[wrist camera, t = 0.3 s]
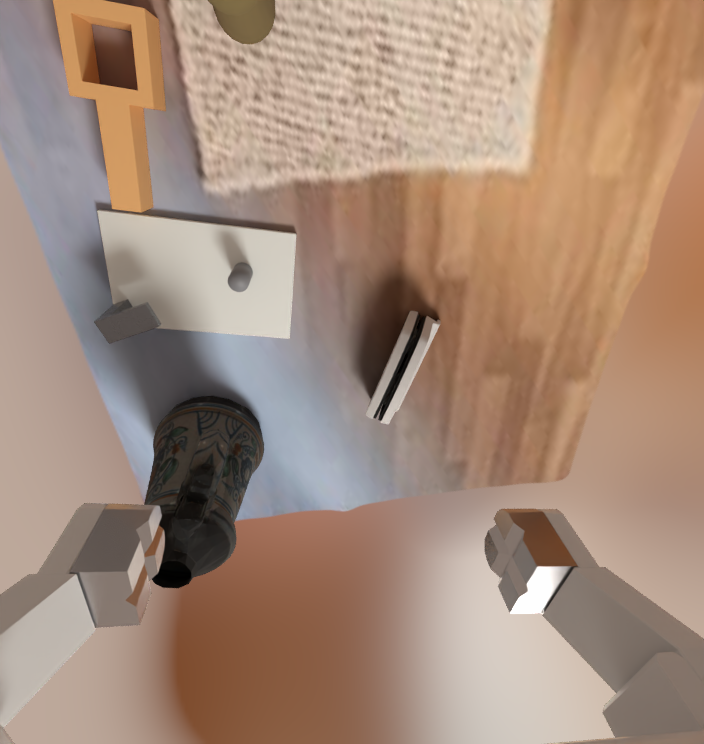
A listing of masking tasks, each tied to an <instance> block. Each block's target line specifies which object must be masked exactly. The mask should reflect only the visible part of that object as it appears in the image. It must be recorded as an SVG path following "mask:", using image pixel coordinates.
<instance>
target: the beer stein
mask: <svg viewBox="0 0 704 744" xmlns="http://www.w3.org/2000/svg"><path fill="white" fill-rule="evenodd" d="M153 448H154V461H153V466H152V472H151V476H150V481H149V485H148V490H147V494H146V499H145V504H144V505H157V506H160V509H161V514H162V517H161V520H160V522H159V526H160V527H162V528H163V529H164V534H165V547H164V553H163V558H162V562H161V565H160V568H159V571H158V574H156V575H155V576H154V577H153V578H152V580H153V582H154V583H155V584H157V585H159V586H161V587H164V588H180V587H182V586H184V585H186V584H189V582H190V581H191V580H192V578H193V577H196V576H200V575H203V574H206V573H208V572H210V571H212V570H214V569H216V568H217V567H219V566H220V565H222V564H223V563H224V562H225V561H226V560H227V559H228V558H229V557H230V556H231V554H232V553H233V551H234V548H235V545H236V530H235V525H234V522H235V519H236V517H237V514H238V512H239V509H240V506H241V503H242V501H243V497H244V495H245V492H246V489H247V486H248V483H249V480H250V478H251V475H252V473H253V472H254V471H255V470H256V469H257V468H258V466H259V464H260V463H261V460H262V457H263V453H264V442H263V437H262V433H261V429H260V425H259V422H258V421H257V419H256V418H255V417H254V416H253V414H252V413H251V412H250V411H249V409H247V408H245V407H243V406H241V405H239V404H237V403H235V402H234V401H232V400H230V399H225V398H220V397H215V396H208V397H196V398H192V399H189V400H187V401H185V402H183V403H181V404H179V405H177V406H176V407H175V408H174V409H173V410H172V411H171V412H170V413H169V414H168V415H167V416H166V417H165V418H164V419H163V420H162V421H161V423H160V424H159V426H158V428H157V430H156V433H155V436H154V441H153Z"/></svg>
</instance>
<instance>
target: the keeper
mask: <svg viewBox="0 0 704 744" xmlns="http://www.w3.org/2000/svg"><path fill="white" fill-rule="evenodd" d="M94 323H95V324H96V326H97V327H98V328H99V330H100V331H101V333H102V334H103V335H104V337H105V338H106V339H107V341H108V342H109V344H110V343H112V342H115V341H118V340H121V339H124V338H127V337H130V336H133V335H136V334H139V333H142V332H145V331H148V330H151V329H154V328H157V327H159V326H160V325H161V322H160V321H159V319H158V318H157V316H156V314H155V313H154V311H153V309H152V308H151V306H150V305H149V303H148V302H146V303H143V304H140V305H137V306H134V307H133V306H132V305H131V303H130V302H129V300H128V299H127V300H124V301H121V302H118V303H115V304H114V305H113V306H112V307H111V308H109V309H108V310H107V311H106V312H105V313H104V314H103V315H101V316H100V317H99V318H98V319H97V320H96V321H94Z"/></svg>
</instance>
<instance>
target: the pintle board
mask: <svg viewBox="0 0 704 744" xmlns="http://www.w3.org/2000/svg"><path fill="white" fill-rule="evenodd" d="M97 212H98V218H99V224H100V230H101V235H102V241H103V247H104V253H105V259H106V265H107V271H108V277H109V283H110V289H111V295H112V301H113V305H114V304H115V303H118V302H121V301H124V300H127V299H128V300H129V302H130V303H131V305H132V306H133V307H134V306H137V305H140V304H143V303H146V302H148V303H149V305H150V306H151V308H152V309H153V311H154V313H155V314H156V316H157V318H158V319H159V321H160V322H161V325H160V326H159V327H157V328H161V329H173V330H186V331H199V332H211V333H224V334H237V335H250V336H262V337H275V338H288V339H290V325H291V309H292V294H293V279H294V263H295V248H296V233H292V232H283V231H275V230H267V229H258V228H250V227H242V226H233V225H225V224H217V223H209V222H200V221H192V220H184V219H175V218H167V217H159V216H150V215H142V214H134V213H125V212H117V211H109V210H97Z"/></svg>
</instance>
